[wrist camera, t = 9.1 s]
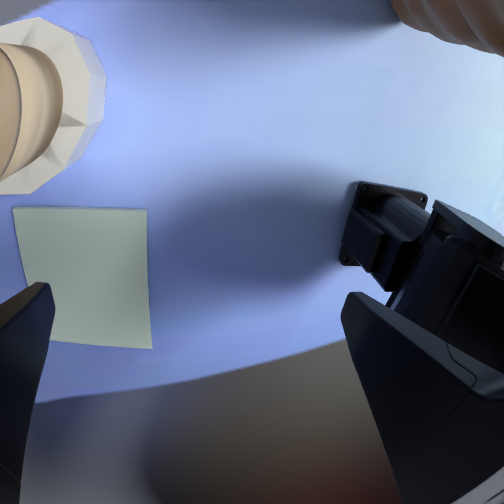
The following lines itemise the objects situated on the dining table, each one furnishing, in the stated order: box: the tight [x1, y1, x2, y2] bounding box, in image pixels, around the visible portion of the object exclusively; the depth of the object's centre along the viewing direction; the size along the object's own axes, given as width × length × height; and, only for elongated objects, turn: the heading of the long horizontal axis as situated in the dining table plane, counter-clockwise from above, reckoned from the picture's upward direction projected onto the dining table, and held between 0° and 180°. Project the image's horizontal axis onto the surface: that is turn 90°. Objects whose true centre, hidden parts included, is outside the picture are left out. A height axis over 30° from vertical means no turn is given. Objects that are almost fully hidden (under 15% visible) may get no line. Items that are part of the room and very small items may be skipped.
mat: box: [12, 206, 152, 349], centre depth 21 cm, size 10×12×1 cm
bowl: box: [0, 17, 107, 195], centre depth 13 cm, size 10×10×3 cm
